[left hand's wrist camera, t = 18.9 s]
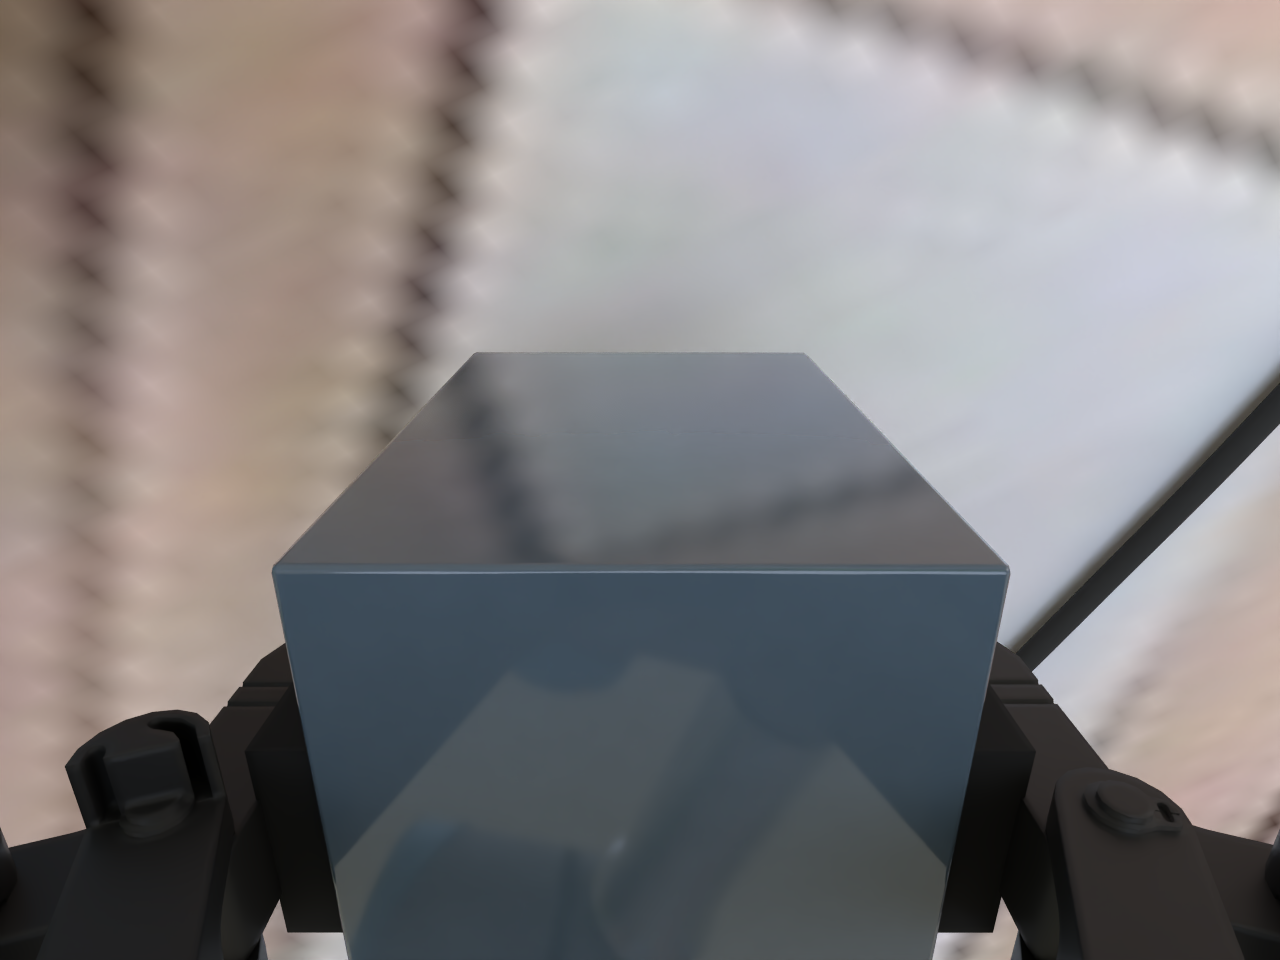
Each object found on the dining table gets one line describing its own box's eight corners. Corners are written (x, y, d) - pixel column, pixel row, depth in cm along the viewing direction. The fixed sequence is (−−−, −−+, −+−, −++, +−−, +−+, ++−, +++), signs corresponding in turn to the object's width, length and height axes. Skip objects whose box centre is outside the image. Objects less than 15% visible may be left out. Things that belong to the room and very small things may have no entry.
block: (497, 648, 18) (368, 1074, 10) (473, 351, 16) (265, 566, 7) (782, 648, 19) (911, 1074, 10) (806, 352, 16) (1015, 566, 7)
